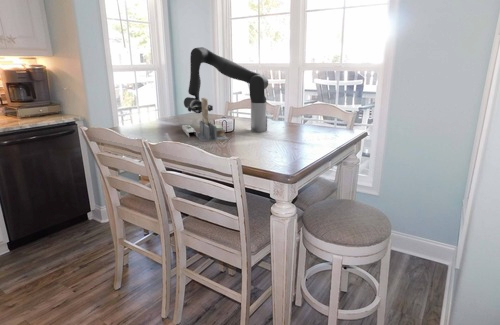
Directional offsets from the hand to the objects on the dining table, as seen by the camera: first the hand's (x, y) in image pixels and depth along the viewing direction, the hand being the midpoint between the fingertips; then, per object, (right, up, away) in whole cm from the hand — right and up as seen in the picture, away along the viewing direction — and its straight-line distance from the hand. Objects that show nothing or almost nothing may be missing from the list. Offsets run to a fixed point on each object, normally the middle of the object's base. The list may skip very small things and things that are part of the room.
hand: (202, 109), depth 186 cm
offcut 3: (+9, -14, -2) cm, 17 cm away
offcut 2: (+9, -13, -3) cm, 16 cm away
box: (-7, -16, 0) cm, 17 cm away
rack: (+5, -17, -5) cm, 18 cm away
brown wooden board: (+2, -14, -1) cm, 14 cm away
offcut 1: (+8, -11, -2) cm, 14 cm away
